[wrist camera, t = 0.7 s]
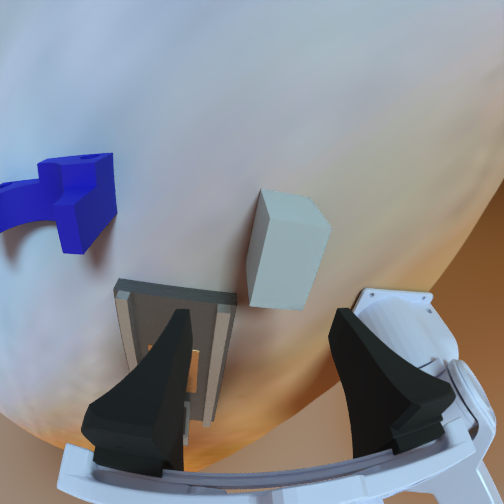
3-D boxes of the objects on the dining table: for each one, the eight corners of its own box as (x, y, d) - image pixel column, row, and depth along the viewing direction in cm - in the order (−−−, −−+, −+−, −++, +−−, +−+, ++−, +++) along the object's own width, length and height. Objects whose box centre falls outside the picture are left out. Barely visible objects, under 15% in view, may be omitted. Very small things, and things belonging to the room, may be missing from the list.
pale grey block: (309, 197, 19) (331, 227, 15) (288, 270, 22) (301, 313, 18) (260, 188, 19) (270, 218, 14) (244, 266, 22) (248, 309, 17)
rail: (236, 293, 23) (237, 314, 21) (213, 412, 34) (213, 427, 32) (118, 278, 21) (109, 297, 19) (142, 403, 32) (140, 418, 30)
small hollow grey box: (190, 400, 29) (187, 437, 25) (190, 412, 31) (188, 445, 26) (161, 396, 29) (156, 432, 24) (163, 408, 30) (159, 441, 26)
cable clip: (113, 152, 16) (70, 176, 11) (117, 212, 19) (83, 254, 14) (1, 166, 15) (-45, 191, 10) (9, 213, 17) (-30, 246, 12)
